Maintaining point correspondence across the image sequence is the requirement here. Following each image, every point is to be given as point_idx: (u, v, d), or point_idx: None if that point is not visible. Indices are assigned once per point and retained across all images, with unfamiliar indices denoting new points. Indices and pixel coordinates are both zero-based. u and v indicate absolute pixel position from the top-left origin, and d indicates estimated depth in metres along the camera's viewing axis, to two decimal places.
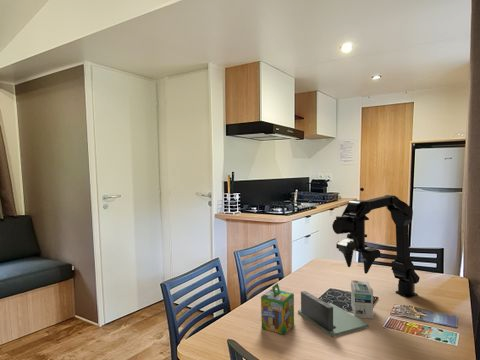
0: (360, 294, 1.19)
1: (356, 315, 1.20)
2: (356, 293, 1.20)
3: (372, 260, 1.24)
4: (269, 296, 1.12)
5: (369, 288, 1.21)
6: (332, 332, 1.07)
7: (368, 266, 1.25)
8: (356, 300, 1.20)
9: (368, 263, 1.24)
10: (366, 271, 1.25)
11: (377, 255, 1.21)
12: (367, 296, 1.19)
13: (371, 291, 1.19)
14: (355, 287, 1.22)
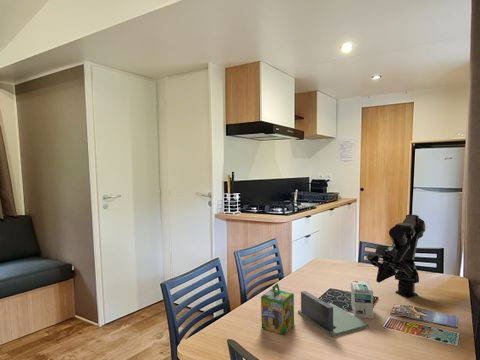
0: (360, 294, 1.19)
1: (356, 315, 1.20)
2: (356, 293, 1.20)
3: (390, 274, 1.28)
4: (269, 296, 1.12)
5: (369, 288, 1.21)
6: (332, 332, 1.07)
7: (384, 277, 1.27)
8: (356, 300, 1.20)
9: (386, 274, 1.27)
10: (379, 280, 1.27)
11: (409, 273, 1.21)
12: (367, 296, 1.19)
13: (371, 291, 1.19)
14: (355, 287, 1.22)
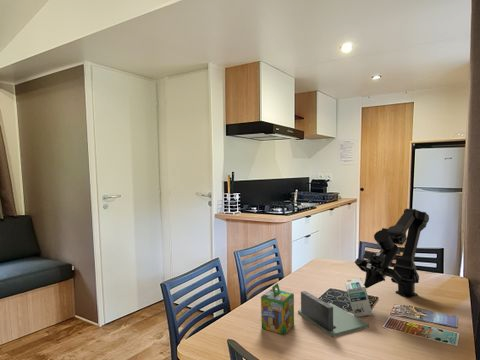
0: (354, 293, 1.20)
1: (355, 315, 1.20)
2: (350, 293, 1.20)
3: (378, 280, 1.25)
4: (269, 296, 1.12)
5: (362, 285, 1.21)
6: (332, 332, 1.07)
7: (372, 282, 1.25)
8: (352, 300, 1.20)
9: (373, 280, 1.25)
10: (367, 285, 1.24)
11: (397, 279, 1.19)
12: (361, 293, 1.19)
13: (364, 288, 1.19)
14: (348, 287, 1.22)
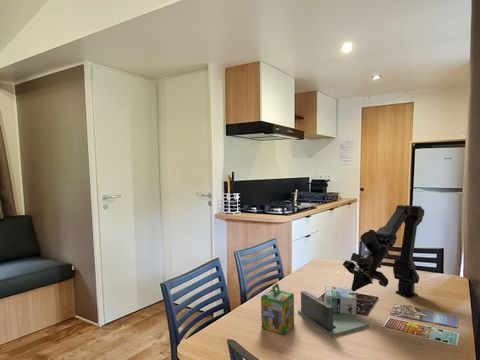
0: None
1: (353, 313, 1.20)
2: None
3: (366, 283, 1.23)
4: (269, 296, 1.12)
5: (327, 295, 1.24)
6: (332, 332, 1.07)
7: (359, 285, 1.22)
8: (338, 311, 1.21)
9: (361, 282, 1.22)
10: (354, 288, 1.22)
11: (384, 282, 1.16)
12: (333, 301, 1.21)
13: (328, 296, 1.22)
14: None
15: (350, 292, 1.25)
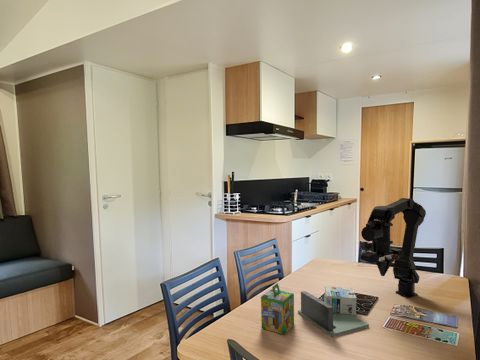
0: None
1: (353, 313, 1.20)
2: None
3: (382, 264, 1.28)
4: (269, 296, 1.12)
5: (326, 296, 1.24)
6: (332, 332, 1.07)
7: (380, 269, 1.30)
8: (338, 312, 1.21)
9: (380, 266, 1.30)
10: (381, 273, 1.30)
11: (367, 259, 1.26)
12: (333, 301, 1.21)
13: (328, 297, 1.22)
14: None
15: (350, 292, 1.25)
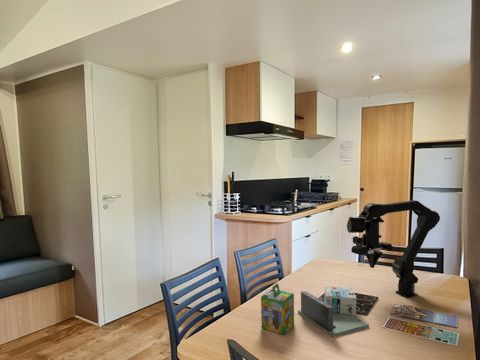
0: None
1: (353, 313, 1.20)
2: None
3: (371, 257, 1.39)
4: (269, 296, 1.12)
5: (326, 296, 1.24)
6: (332, 332, 1.07)
7: (370, 261, 1.40)
8: (338, 312, 1.21)
9: (369, 258, 1.40)
10: (370, 265, 1.41)
11: (357, 252, 1.36)
12: (333, 301, 1.21)
13: (328, 297, 1.22)
14: None
15: (350, 292, 1.25)
